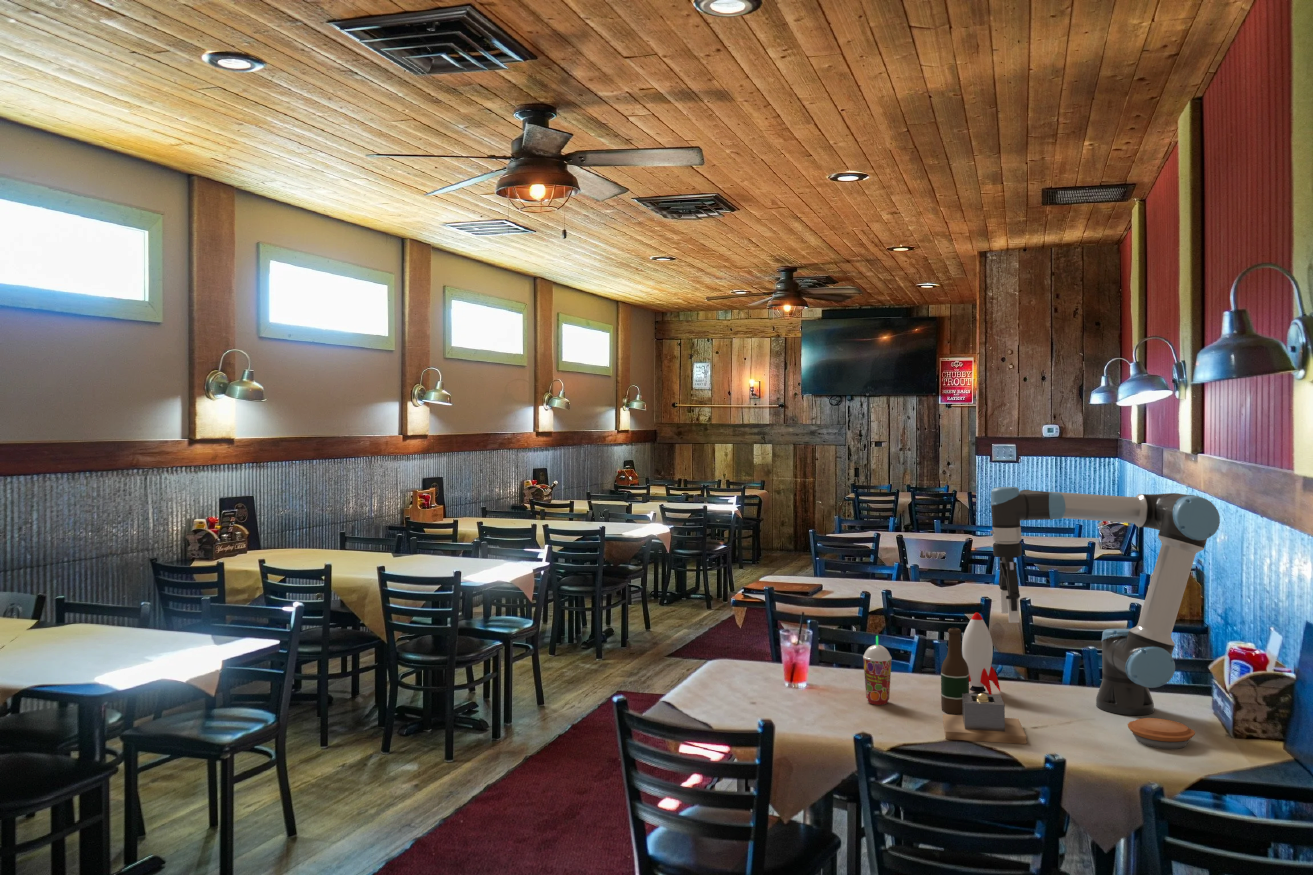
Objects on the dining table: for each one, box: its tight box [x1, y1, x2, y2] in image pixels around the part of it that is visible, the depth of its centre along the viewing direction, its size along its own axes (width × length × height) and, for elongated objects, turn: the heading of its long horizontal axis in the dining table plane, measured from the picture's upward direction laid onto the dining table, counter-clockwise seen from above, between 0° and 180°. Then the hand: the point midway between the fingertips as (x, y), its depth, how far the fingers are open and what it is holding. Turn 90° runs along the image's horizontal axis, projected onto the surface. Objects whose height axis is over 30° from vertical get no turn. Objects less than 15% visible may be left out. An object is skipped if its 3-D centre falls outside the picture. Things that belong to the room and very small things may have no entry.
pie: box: [1127, 717, 1196, 750], centre depth 250 cm, size 15×16×5 cm
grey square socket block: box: [962, 692, 1006, 732], centre depth 259 cm, size 10×10×7 cm
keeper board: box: [942, 713, 1027, 745], centre depth 259 cm, size 20×16×2 cm
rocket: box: [961, 612, 1001, 695], centre depth 299 cm, size 11×11×25 cm
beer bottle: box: [940, 627, 970, 715], centre depth 279 cm, size 8×8×24 cm
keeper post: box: [977, 692, 988, 702], centre depth 259 cm, size 3×3×8 cm
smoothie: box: [862, 635, 893, 706], centre depth 289 cm, size 8×8×20 cm
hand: (1010, 617), depth 270 cm, fingers open, 13 cm apart
